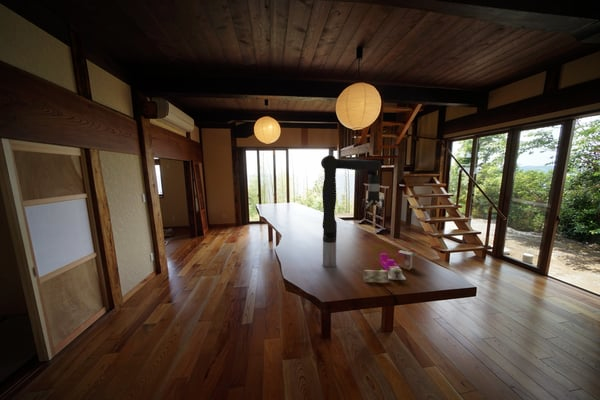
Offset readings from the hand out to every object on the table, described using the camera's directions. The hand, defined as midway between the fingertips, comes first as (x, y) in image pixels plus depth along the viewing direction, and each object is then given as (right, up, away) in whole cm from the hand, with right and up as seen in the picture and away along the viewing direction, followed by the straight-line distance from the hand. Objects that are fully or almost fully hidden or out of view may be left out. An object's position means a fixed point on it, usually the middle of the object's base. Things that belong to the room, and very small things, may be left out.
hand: (373, 213), depth 144 cm
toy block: (+9, -36, -4) cm, 38 cm away
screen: (-5, -39, -20) cm, 44 cm away
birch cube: (+7, -34, -15) cm, 38 cm away
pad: (+7, -38, -14) cm, 41 cm away
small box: (+21, -37, -2) cm, 42 cm away
